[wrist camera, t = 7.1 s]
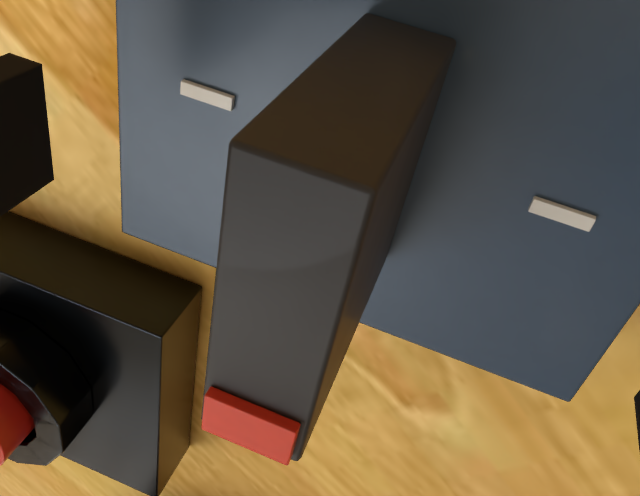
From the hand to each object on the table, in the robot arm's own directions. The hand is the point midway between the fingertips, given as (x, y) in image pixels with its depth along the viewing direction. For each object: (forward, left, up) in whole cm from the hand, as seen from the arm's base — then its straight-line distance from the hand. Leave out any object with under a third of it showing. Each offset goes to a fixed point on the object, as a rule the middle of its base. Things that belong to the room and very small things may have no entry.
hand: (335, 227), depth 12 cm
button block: (+12, +15, -6) cm, 20 cm away
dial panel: (0, 0, -6) cm, 6 cm away
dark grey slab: (0, 0, -3) cm, 3 cm away
